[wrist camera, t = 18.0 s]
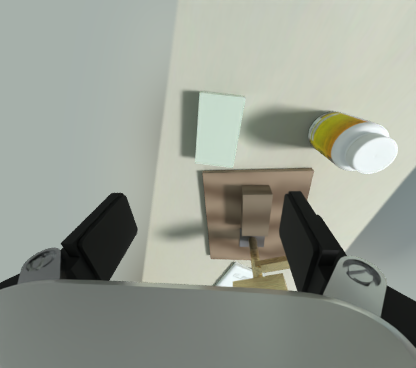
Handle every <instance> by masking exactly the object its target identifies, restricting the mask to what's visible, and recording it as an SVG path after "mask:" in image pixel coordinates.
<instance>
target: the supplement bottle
mask: <svg viewBox="0 0 416 368" xmlns="http://www.w3.org/2000/svg"><path fill="white" fill-rule="evenodd" d="M308 138H309V142H310V144H311V145H312V146H313V147H314V148H315V149H316V150H318V151H319V152H320V153H321V154H323V155H324V156H325V157H326V158H328V159H329V160H330V161H331V162H333V163H334V164H335V165H336V166H338V167H339V168H341V169H343V170H347V171H358V172H360V173H363V174H372V173H376V172H379V171H381V170H383V169H384V168H386V167H387V166H389V165H390V164H391V163H392V162H393V160H394V159H395V157H396V155H397V152H398V146H397V144H396V142H395V141H394V140H393V139H391V138H389V134H388V131H387V130H386V129H385V128H384V127H383V126H381V125H379V124H377V123H374V122H371V121H367V120H364V119H361V118H358V117H354V116H351V115H348V114H344V113H341V112H329V113H326V114H324V115H322V116H320V117H319V118H317V119H316V120H315V121H314V123H313V124H312V125H311V127H310V130H309V134H308Z"/></svg>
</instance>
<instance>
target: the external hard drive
mask: <svg viewBox="0 0 416 368" xmlns="http://www.w3.org/2000/svg"><path fill="white" fill-rule="evenodd" d="M262 274H263V276H266V275H265V273H262ZM250 278H253V273H252V269H251V268H248V266H245V265H242V264H240V263H237V262H235V263H234V264H233V265H232V266H231V268H230V269H229V270H228V271H227V272H226V273H225V275H224V276H223V277H222V278H221V279H220V281H219V282H218V283H217V284H216V285H215V286H226V287H233V281H238V280H244V279H250Z"/></svg>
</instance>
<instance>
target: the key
mask: <svg viewBox="0 0 416 368" xmlns="http://www.w3.org/2000/svg"><path fill="white" fill-rule="evenodd" d="M248 241H249V249H250V257H251V265H252V273H253V278H250V279H244V280H238V281H233V287H244V288H260V289H274V290H288V288H287V285H286V281H285V279H284V276H283V273H281V274H275V275H269V276H263V274H262V273H266V272H272V271H277V270H283V269H289V268H290V267H289V264H288V260H287V257H286V256H281V257H275V258H270V259H265V260H260V257H259V251H258V246H257V240H256V238H255V237H250V238H249V239H248Z"/></svg>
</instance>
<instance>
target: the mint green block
mask: <svg viewBox="0 0 416 368" xmlns="http://www.w3.org/2000/svg"><path fill="white" fill-rule="evenodd" d="M245 99H246V97H245V96H239V95H230V94H221V93H212V92H203V91H202V92H200V93H199V109H198V124H197V140H196V156H195V163H197V164H205V165H213V166H221V167H229V168H233V166H234V160H235V154H236V149H237V143H238V138H239V132H240V127H241V121H242V116H243V110H244V105H245Z"/></svg>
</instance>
